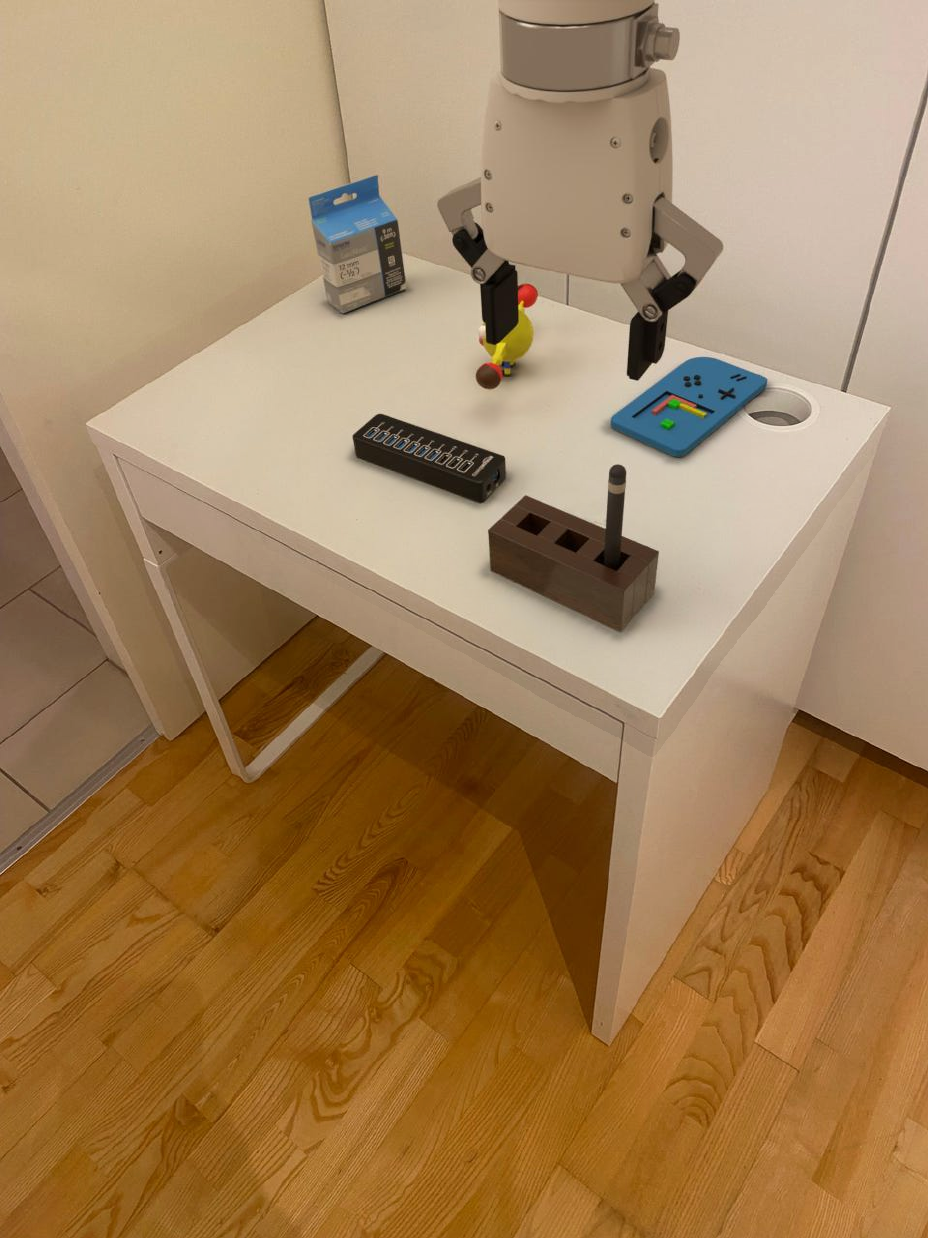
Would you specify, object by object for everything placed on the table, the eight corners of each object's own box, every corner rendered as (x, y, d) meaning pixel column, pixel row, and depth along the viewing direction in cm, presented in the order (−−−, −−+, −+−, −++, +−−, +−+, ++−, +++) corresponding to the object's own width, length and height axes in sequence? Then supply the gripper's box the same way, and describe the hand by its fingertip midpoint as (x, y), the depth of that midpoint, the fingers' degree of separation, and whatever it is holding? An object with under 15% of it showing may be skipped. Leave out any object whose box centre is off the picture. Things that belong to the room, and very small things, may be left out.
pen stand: (526, 535, 81) (525, 494, 78) (654, 592, 76) (659, 551, 73) (490, 570, 79) (487, 529, 75) (620, 632, 73) (624, 591, 70)
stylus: (618, 595, 76) (628, 461, 66) (615, 606, 75) (625, 472, 66) (603, 592, 76) (610, 459, 67) (600, 603, 75) (607, 470, 66)
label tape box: (342, 315, 109) (323, 208, 100) (325, 301, 111) (306, 195, 102) (407, 290, 112) (395, 184, 103) (390, 277, 114) (376, 172, 105)
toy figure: (502, 323, 106) (500, 264, 101) (551, 327, 104) (551, 268, 99) (458, 417, 94) (453, 356, 89) (512, 423, 93) (511, 362, 88)
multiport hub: (381, 431, 93) (378, 411, 91) (508, 476, 87) (507, 456, 85) (353, 456, 91) (350, 436, 89) (482, 504, 85) (480, 483, 83)
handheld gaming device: (770, 375, 93) (681, 449, 86) (768, 385, 94) (680, 459, 87) (698, 348, 97) (607, 416, 90) (697, 358, 98) (607, 426, 91)
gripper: (770, 38, 46) (724, 352, 59) (463, 9, 53) (480, 296, 65) (715, 90, 42) (678, 416, 54) (389, 51, 49) (422, 350, 61)
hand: (570, 350), depth 60 cm, fingers open, 9 cm apart
